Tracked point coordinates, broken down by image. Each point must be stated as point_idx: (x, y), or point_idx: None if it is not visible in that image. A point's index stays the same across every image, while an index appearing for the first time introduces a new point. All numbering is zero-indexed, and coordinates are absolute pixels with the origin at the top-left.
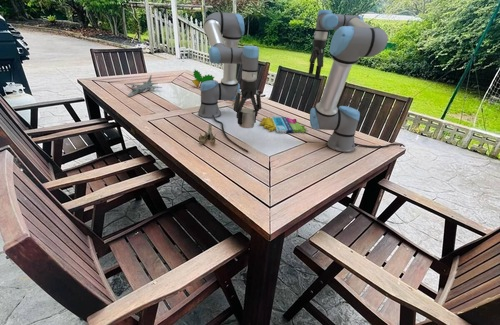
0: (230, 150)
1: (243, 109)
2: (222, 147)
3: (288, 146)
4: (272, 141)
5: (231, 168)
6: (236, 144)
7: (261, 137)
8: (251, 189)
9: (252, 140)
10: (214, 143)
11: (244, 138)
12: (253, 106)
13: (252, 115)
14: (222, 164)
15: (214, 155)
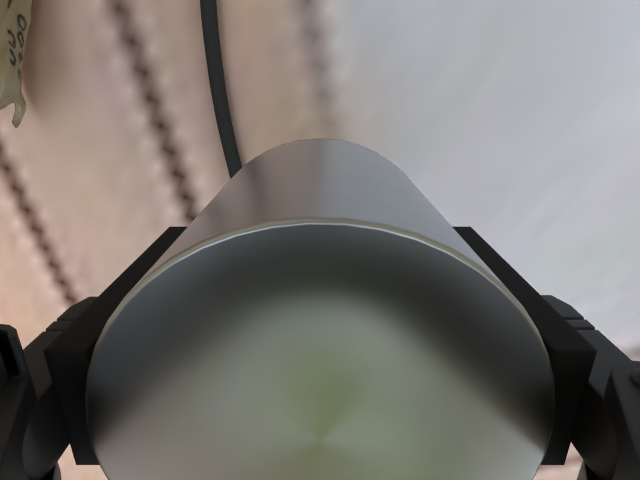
0: (156, 222)
1: (236, 337)
2: (104, 146)
3: (625, 325)
4: (587, 203)
5: None
6: (231, 171)
7: (564, 81)
8: None
9: (435, 113)
10: (14, 100)
11: (388, 33)
12: (632, 458)
13: None
14: None
15: (11, 250)
